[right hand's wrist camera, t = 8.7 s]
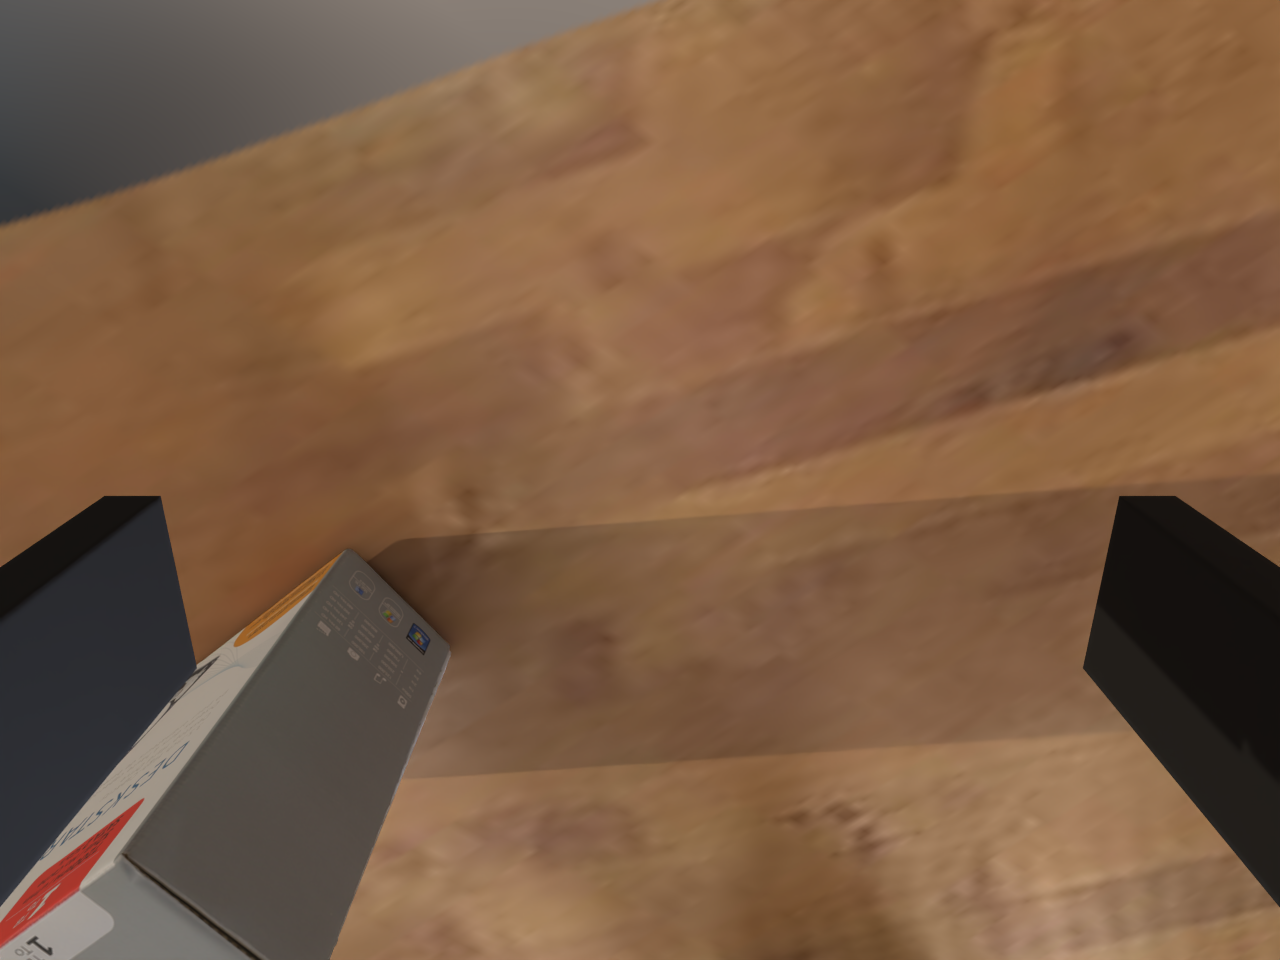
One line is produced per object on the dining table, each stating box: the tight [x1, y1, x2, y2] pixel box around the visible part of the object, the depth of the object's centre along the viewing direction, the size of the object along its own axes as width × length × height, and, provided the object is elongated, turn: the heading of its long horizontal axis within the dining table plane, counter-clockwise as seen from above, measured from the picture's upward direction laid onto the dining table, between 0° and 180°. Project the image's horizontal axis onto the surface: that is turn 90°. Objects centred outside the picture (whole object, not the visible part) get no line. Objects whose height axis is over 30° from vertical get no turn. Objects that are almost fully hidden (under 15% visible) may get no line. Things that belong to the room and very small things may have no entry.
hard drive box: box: [0, 549, 451, 960], centre depth 36 cm, size 16×8×20 cm, turn 128°
